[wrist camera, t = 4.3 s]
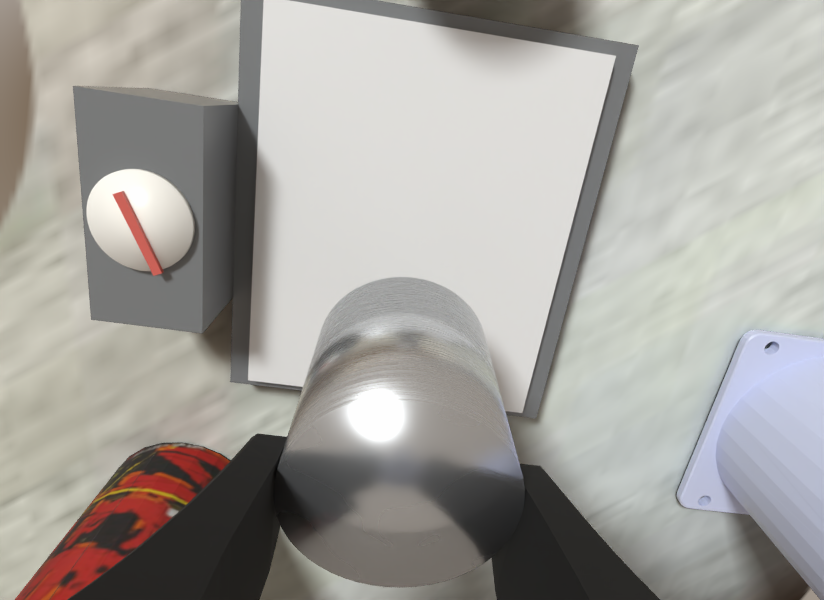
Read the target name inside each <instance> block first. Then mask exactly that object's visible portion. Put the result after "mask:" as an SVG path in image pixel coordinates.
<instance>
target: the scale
mask: <svg viewBox="0 0 824 600" xmlns="http://www.w3.org/2000/svg"><path fill="white" fill-rule="evenodd" d="M638 47H639V45H633V44H628V43H622V42H616V41H610V40H604V39H598V38H593V37H587V36H581V35H575V34H569V33H563V32H558V31H552V30H546V29H540V28H534V27H529V26H523V25H517V24H511V23H505V22H499V21H494V20H488V19H482V18H476V17H470V16H465V15H459V14H453V13H447V12H441V11H435V10H430V9H424V8H418V7H412V6H406V5H400V4H395V3H389V2H383V1H377V0H241V16H240V52H239V89H238V102H234V101H228V100H221V99H215V98H208V97H202V96H195V95H189V94H183V93H176V92H170V91H163V90H157V89H150V88H122V87H91V86H73V93H74V106H75V119H76V131H77V144H78V157H79V170H80V183H81V195H82V208H83V221H84V234H85V247H86V260H87V272H88V285H89V298H90V311H91V320H98V321H106V322H114V323H123V324H131V325H139V326H147V327H155V328H163V329H171V330H179V331H187V332H195V333H203V332H204V331H205V330H206V329H207V327H208V326H209V325H210V324H211V323H212V321H213V320H214V319H215V318H216V317H217V316H218V314H219V313H220V312H221V311H222V310H223V308H224V307H225V306H226V305H227V304H228V303H229V301H230V300H231V299H232V298H233V307H232V344H231V380H230V382H234V383H243V384H251V385H260V386H268V387H276V388H285V389H293V390H302V389H303V385H304V382H305V379H306V376H307V373H308V370H309V366H310V363H311V360H312V357H313V354H314V350H315V347H316V344H317V341H318V338H319V335H320V331H321V328H322V326H323V323H324V321H325V319H326V317H327V316H328V314H329V313H330V311H331V310H332V308H333V307H334V306H335V305H336V304H337V303H338V302H339V301H340V300H341V299H342V298H343V297H344V296H346V295H347V294H348V293H350V292H351V291H353V290H354V289H356V288H358V287H360V286H362V285H364V284H367V283H370V282H373V281H376V280H380V279H385V278H391V277H413V278H419V279H424V280H428V281H431V282H434V283H437V284H439V285H441V286H444V287H446V288H448V289H449V290H451V291H452V292H454V293H456V294H457V295H458V296H459V297H461V298H462V299H463V300H464V301H465V302H466V303H467V304H468V305H469V306H470V307H471V308H472V310H473V311H474V313H475V314H476V315H477V317H478V319H479V321H480V323H481V325H482V328H483V331H484V334H485V338H486V341H487V345H488V349H489V353H490V356H491V360H492V364H493V367H494V371H495V375H496V378H497V382H498V386H499V390H500V393H501V397H502V401H503V404H504V408H505V412H506V415H512V416H520V417H529V418H536V417H537V414H538V410H539V406H540V403H541V399H542V396H543V392H544V388H545V385H546V381H547V377H548V374H549V370H550V366H551V363H552V359H553V356H554V352H555V348H556V345H557V341H558V337H559V334H560V330H561V326H562V323H563V319H564V316H565V312H566V308H567V305H568V301H569V297H570V294H571V290H572V286H573V283H574V279H575V276H576V272H577V268H578V265H579V261H580V257H581V254H582V250H583V247H584V243H585V239H586V236H587V232H588V228H589V225H590V221H591V217H592V214H593V210H594V207H595V203H596V199H597V196H598V192H599V188H600V185H601V181H602V177H603V174H604V170H605V167H606V163H607V159H608V156H609V152H610V148H611V145H612V141H613V137H614V134H615V130H616V127H617V123H618V119H619V116H620V112H621V108H622V105H623V101H624V97H625V94H626V90H627V87H628V83H629V79H630V76H631V72H632V68H633V65H634V61H635V57H636V54H637V50H638Z"/></svg>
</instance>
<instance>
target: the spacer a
mask: <svg viewBox="0 0 824 600" xmlns="http://www.w3.org/2000/svg"><path fill="white" fill-rule="evenodd" d="M273 502H274V508H275V512H276V516H277V519H278V521H279V523H280V525H281V528H282V529H283V531H284V532H285V534H286V536H287V537H288V539H289V540H290V541H291V542H292V543H293V545H294V546H295V547H296V548H297V549H298V550H299V551H300V552H301V553H302V554H304V555H305V556H306V557H307V558H308V559H310V560H311V561H313V562H314V563H315V564H317V565H318V566H320V567H322V568H324V569H326V570H327V571H329V572H331V573H334V574H336V575H338V576H341V577H343V578H346V579H349V580H352V581H356V582H360V583H364V584H369V585H375V586H383V587H417V586H424V585H430V584H435V583H439V582H443V581H447V580H450V579H453V578H456V577H458V576H461V575H463V574H465V573H467V572H470V571H472V570H473V569H475V568H477V567H479V566H480V565H482V564H484V563H485V562H486V561H488V560H489V559H490V558H492V557H493V556H494V555H495V554H496V553H497V552H498V551H499V550H501V549H502V548H503V547H504V545H505V544H506V543H507V542H508V540H509V539H510V538H511V537H512V535H513V533H514V532H515V530H516V528H517V526H518V524H519V521H520V518H521V515H522V512H523V508H524V503H525V486H524V480H523V475H522V471H521V468H520V464H519V460H518V456H517V453H516V449H515V445H514V442H513V438H512V434H511V430H510V427H509V423H508V419H507V416H506V412H505V408H504V404H503V401H502V397H501V393H500V390H499V386H498V382H497V378H496V375H495V371H494V367H493V364H492V360H491V356H490V353H489V349H488V345H487V341H486V338H485V334H484V331H483V328H482V325H481V323H480V321H479V319H478V317H477V315H476V314H475V313H474V311H473V310H472V308H471V307H470V306H469V305H468V304H467V303H466V302H465V301H464V300H463V299H462V298H461V297H459V296H458V295H457V294H456V293H454V292H452V291H451V290H449V289H448V288H446V287H444V286H441V285H439V284H437V283H434V282H431V281H428V280H424V279H419V278H413V277H391V278H385V279H380V280H376V281H373V282H370V283H367V284H364V285H362V286H360V287H358V288H356V289H354V290H353V291H351V292H350V293H348V294H347V295H346V296H344V297H343V298H342V299H341V300H340V301H339V302H338V303H337V304H336V305H335V306H334V307H333V308H332V310H331V311H330V313H329V314H328V316H327V317H326V319H325V321H324V323H323V326H322V328H321V331H320V335H319V338H318V341H317V344H316V347H315V350H314V354H313V357H312V360H311V363H310V366H309V370H308V373H307V376H306V379H305V382H304V385H303V389H302V392H301V395H300V398H299V401H298V404H297V408H296V411H295V414H294V417H293V420H292V424H291V427H290V430H289V433H288V436H287V439H286V443H285V446H284V449H283V452H282V455H281V459H280V462H279V465H278V468H277V472H276V475H275V479H274V485H273Z"/></svg>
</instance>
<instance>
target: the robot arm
mask: <svg viewBox="0 0 824 600" xmlns="http://www.w3.org/2000/svg"><path fill="white" fill-rule="evenodd" d="M770 342H772V344H771V346H770V347H769V348H767V349H765V346H766V345H767V344H768V343H770ZM286 439H287V437H282V436H273V435H265V434H256V435H255V436H253V437H252V438H251V439H250V440H249V441H248V442H247V443H246V445H245V446H244V447H243V448H242V449H241V450H240V451H239V452H238V453H237V455H236V456H235V457H234V458H233V459H232V460H231V461H230V462H229V463H228V464H227V465H226V466H225V467H224V468H223V469H222V470H221V471H220V472H219V473H218V474H217V475H216V476H215V477H214V478H213V479H212V480H211V481H210V482H209V483H208V484H207V485H206V486H205V487H204V488H203V489H202V490H201V491H200V492H199V493H198V494H197V495H196V496H195V497H194V498H193V499H192V500H191V501H190V502H189V503H188V504H186V505H185V506H184V507H183V508H182V509H181V510H180V511H179V512H178V513H177V514H175V515H174V516H173V517H172V518H171V519H170V520H168V521H167V522H166V523H165V524H164V525H163V526H162V527H160V528H159V529H158V530H157V531H156V532H155V533H154V534H152V535H151V536H150V537H149V538H148V539H147V540H145V541H144V542H143V543H142V544H141V545H139V546H138V547H137V548H136V549H134V550H133V551H132V552H131V553H129V554H128V555H127V556H126V557H124V558H123V559H122V560H121V561H119V562H118V563H117V564H115V565H114V566H113V567H111V568H110V569H109V570H107V571H106V572H105V573H103V574H102V575H101V576H99V577H98V578H97V579H95V580H94V581H93V582H91V583H90V584H89V585H87V586H86V587H84V588H83V589H81V590H80V591H79V592H77V593H76V594H74V595H73V596H71V597H70V598H68V599H67V600H259V599H260V596H261V593H262V590H263V587H264V585H265V582H266V579H267V576H268V573H269V570H270V566H271V562H272V558H273V554H274V550H275V546H276V542H277V538H278V533H279V529H280V523H279V521H278V519H277V516H276V512H275V508H274V502H273V485H274V479H275V475H276V472H277V468H278V465H279V462H280V459H281V455H282V452H283V449H284V446H285V443H286ZM520 468H521V471H522V475H523V480H524V486H525V503H524V508H523V512H522V515H521V518H520V521H519V524H518V526H517V528H516V530H515V532H514V533H513V535H512V537H511V538H510V539H509V540H508V542H507V543H506V544H505V545H504V547H503V548H502V549H501V550H499V551H498V552H497V553H496V554H495V555H494V556H493V557H492V565H493V574H494V583H495V592H496V596H497V600H660V599H659V598H658V597H657V596H656V595H655V594H654V593H653V592H652V591H651V590H650V589H649V588H648V587H647V586H646V585H645V584H644V583H643V582H642V581H641V580H640V579H639V578H638V577H637V576H636V575H635V574H634V573H633V572H632V571H631V570H630V569H629V568H628V566H627V565H626V564H625V563H624V562H623V561H622V560H621V559H620V558H619V557H618V556H617V555H616V554H615V552H614V551H613V550H612V549H611V548H610V547H609V546H608V545H607V544H606V542H605V541H604V540H603V539H602V538H601V537H600V536H599V535H598V533H597V532H596V531H595V530H594V529H593V528H592V527H591V525H590V524H589V523H588V522H587V521H586V520H585V518H584V517H583V516H582V515H581V514H580V513H579V511H578V510H577V509H576V508H575V507H574V505H573V504H572V503H571V502H570V501H569V499H568V498H567V497H566V496H565V495H564V493H563V492H562V491H561V490H560V489H559V487H558V486H557V485H556V484H555V483H554V482H553V480H552V479H551V478H550V477H549V476H548V474H547V473H546V472H545V471H544V470H543V469H542V468H541V467H540V466H534V465H525V464H520ZM702 496H704V497H703V498H701V499H700V497H702ZM677 499H678V500H679V502H680V503H681V505H682V506H684V507H686V508H691V509H700V510H709V511H719V512H728V513H737V514H746V515H750V516H751V517H752V518H753V519H754V520H755V522H756V523H757V524H758V525H759V526H760V528H761V529H762V530H763V531H764V532H765V534H766V535H767V536H768V537H769V538H770V540H771V541H772V542H773V543H774V544H775V546H776V547H777V548H778V549H779V550H780V552H781V553H782V554H783V555H784V556H785V558H786V559H787V560H788V561H789V563H790V564H791V565H792V566H793V567H794V569H795V570H796V571H797V572H798V573H799V575H800V576H801V577H802V578H803V579H804V581H805V582H806V583H807V584H808V585H809V587H810V588H811V589H812V590H813V591H814V593H815V594H816V595H817V596H818V597H819V598H820V600H824V339H823V338H815V337H808V336H801V335H793V334H786V333H778V332H771V331H764V330H751V331H749V332H747V333H746V334H744V335H743V336H742V338H741V339H740V341H739V344H738V346H737V348H736V351H735V353H734V356H733V358H732V361H731V363H730V365H729V368H728V370H727V373H726V375H725V377H724V380H723V382H722V385H721V387H720V390H719V392H718V394H717V397H716V399H715V402H714V404H713V406H712V409H711V411H710V414H709V416H708V419H707V421H706V423H705V426H704V428H703V431H702V433H701V436H700V438H699V440H698V443H697V445H696V448H695V450H694V452H693V455H692V457H691V460H690V462H689V465H688V467H687V469H686V472H685V474H684V477H683V479H682V481H681V484H680V486H679V489H678V491H677Z"/></svg>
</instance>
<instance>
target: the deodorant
mask: <svg viewBox="0 0 824 600" xmlns="http://www.w3.org/2000/svg"><path fill="white" fill-rule="evenodd" d="M229 462H230V461H229V460H228V459H226V458H225V457H224V456H222V455H221V454H219V453H216V452H214V451H211V450H209V449H207V448H204V447H202V446H197V445H192V444H187V443H161V444H157V445H153V446H149V447H145V448H143V449H142V450H140V451H138V452H136V453H134V454H133V455H131V456H129V458H128V459H127V460H126V461H125V462H124V463H123V464H122V465H121V466H120V467H119V468H118V470H117V471H116V472H115V474H114V475H113V476H112V477H111V479H110V480H109V481H108V482H107V484H106V485H105V486H104V487H103V489H102V490H101V491H100V492H99V494H98V495H97V496H96V498H95V499H94V500H93V501H92V503H91V504H90V505H89V506H88V508H87V509H86V510H85V511H84V513H83V514H82V515H81V517H80V518H79V519H78V520H77V522H76V523H75V524H74V525H73V527H72V528H71V529H70V530H69V532H68V533H67V534H66V535H65V537H64V538H63V539H62V541H61V542H60V543H59V544H58V546H57V547H56V548H55V549H54V551H53V552H52V553H51V554H50V556H49V557H48V558H47V560H46V561H45V562H44V563H43V565H42V566H41V567H40V568H39V570H38V571H37V572H36V573H35V575H34V576H33V577H32V579H31V580H30V581H29V582H28V584H27V585H26V586H25V587H24V589H23V590H22V591H21V592H20V594H19V595H18V596H17V597H16V599H15V600H67V599H68V598H70V597H71V596H73V595H74V594H76V593H77V592H79V591H80V590H81V589H83V588H84V587H86V586H87V585H89V584H90V583H91V582H93V581H94V580H95V579H97V578H98V577H99V576H101V575H102V574H103V573H105V572H106V571H107V570H109V569H110V568H111V567H113V566H114V565H115V564H117V563H118V562H119V561H121V560H122V559H123V558H124V557H126V556H127V555H128V554H129V553H131V552H132V551H133V550H134V549H136V548H137V547H138V546H139V545H141V544H142V543H143V542H144V541H145V540H147V539H148V538H149V537H150V536H151V535H152V534H154V533H155V532H156V531H157V530H158V529H159V528H160V527H162V526H163V525H164V524H165V523H166V522H167V521H168V520H170V519H171V518H172V517H173V516H174V515H175V514H177V513H178V512H179V511H180V510H181V509H182V508H183V507H184V506H185V505H186V504H188V503H189V502H190V501H191V500H192V499H193V498H194V497H195V496H196V495H197V494H198V493H199V492H200V491H201V490H202V489H203V488H204V487H205V486H206V485H207V484H208V483H209V482H210V481H211V480H212V479H213V478H214V477H215V476H216V475H217V474H218V473H219V472H220V471H221V470H222V469H223V468H224V467H225V466H226V465H227V464H228V463H229Z"/></svg>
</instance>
